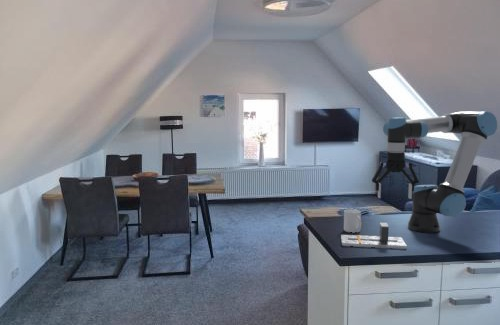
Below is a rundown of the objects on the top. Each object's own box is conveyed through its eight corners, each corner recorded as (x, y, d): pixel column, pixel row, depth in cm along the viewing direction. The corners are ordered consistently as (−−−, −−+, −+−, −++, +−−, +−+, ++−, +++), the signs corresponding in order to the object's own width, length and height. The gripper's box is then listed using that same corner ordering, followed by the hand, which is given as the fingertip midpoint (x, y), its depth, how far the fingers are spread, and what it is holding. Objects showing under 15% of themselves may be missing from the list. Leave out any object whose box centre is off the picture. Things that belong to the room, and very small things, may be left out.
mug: (367, 234, 207) (368, 214, 206) (353, 235, 205) (353, 215, 204) (354, 227, 219) (355, 208, 218) (340, 229, 216) (341, 209, 215)
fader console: (401, 240, 197) (401, 236, 197) (406, 249, 184) (406, 245, 184) (340, 237, 202) (340, 234, 202) (342, 246, 189) (342, 242, 189)
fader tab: (386, 237, 195) (386, 222, 194) (388, 241, 189) (388, 226, 188) (379, 237, 195) (379, 222, 194) (381, 241, 189) (381, 226, 188)
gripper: (422, 151, 190) (420, 196, 193) (366, 150, 193) (365, 195, 196) (427, 152, 183) (425, 200, 185) (368, 152, 186) (367, 199, 189)
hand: (394, 198), depth 191 cm, fingers open, 13 cm apart
